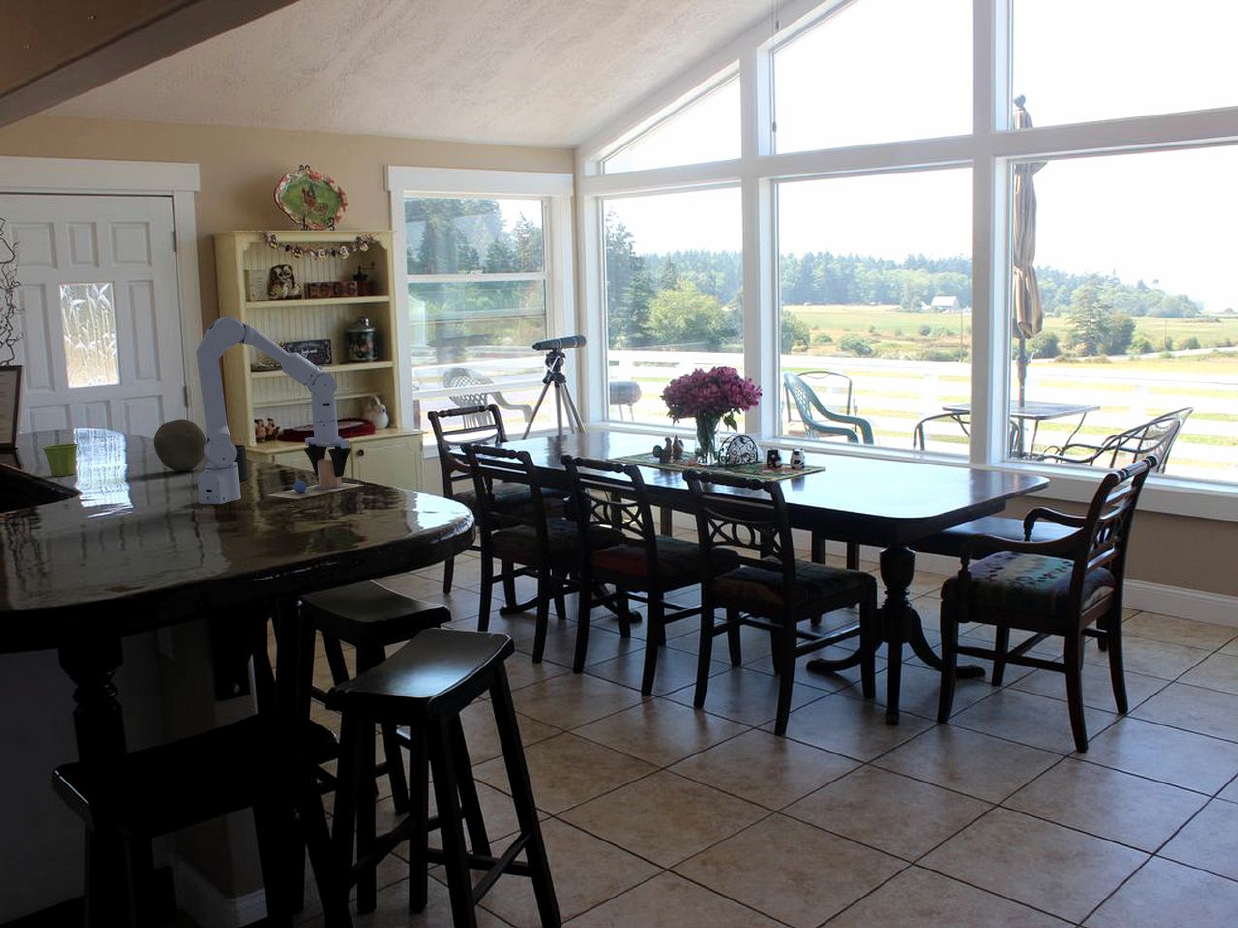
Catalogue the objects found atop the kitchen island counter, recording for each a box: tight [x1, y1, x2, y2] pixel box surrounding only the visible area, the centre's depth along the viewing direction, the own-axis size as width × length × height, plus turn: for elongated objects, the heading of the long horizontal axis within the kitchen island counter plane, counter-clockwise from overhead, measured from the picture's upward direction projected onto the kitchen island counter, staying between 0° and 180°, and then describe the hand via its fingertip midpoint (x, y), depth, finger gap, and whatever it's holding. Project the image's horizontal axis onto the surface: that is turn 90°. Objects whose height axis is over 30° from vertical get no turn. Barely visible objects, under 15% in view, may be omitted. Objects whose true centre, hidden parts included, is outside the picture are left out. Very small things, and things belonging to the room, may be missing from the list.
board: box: [267, 482, 364, 500], centre depth 285 cm, size 20×12×1 cm, turn 142°
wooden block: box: [317, 457, 343, 488], centre depth 288 cm, size 5×5×6 cm
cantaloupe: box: [153, 418, 206, 472], centre depth 334 cm, size 14×14×15 cm
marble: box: [293, 480, 308, 493], centre depth 282 cm, size 3×3×3 cm
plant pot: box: [41, 443, 79, 477], centre depth 339 cm, size 9×9×9 cm
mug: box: [234, 444, 249, 483], centre depth 314 cm, size 9×12×9 cm
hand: (329, 475), depth 288 cm, fingers open, 7 cm apart
